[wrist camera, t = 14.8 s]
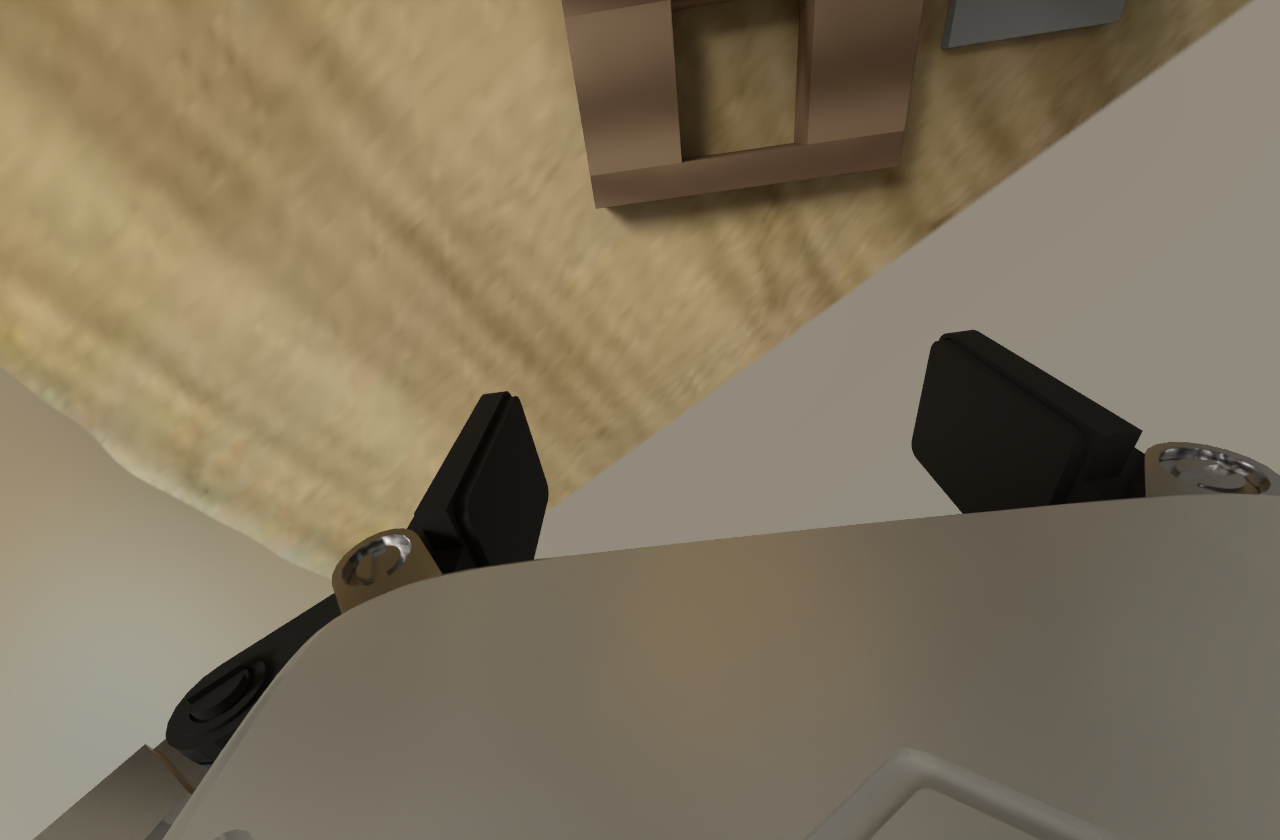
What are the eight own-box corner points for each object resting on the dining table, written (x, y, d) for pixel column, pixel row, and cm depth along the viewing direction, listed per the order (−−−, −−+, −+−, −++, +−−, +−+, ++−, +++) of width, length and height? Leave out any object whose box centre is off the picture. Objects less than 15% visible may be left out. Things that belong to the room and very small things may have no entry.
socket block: (564, -16, 28) (556, -31, 25) (909, -76, 27) (938, -97, 24) (598, 202, 34) (595, 208, 32) (878, 163, 33) (898, 166, 30)
